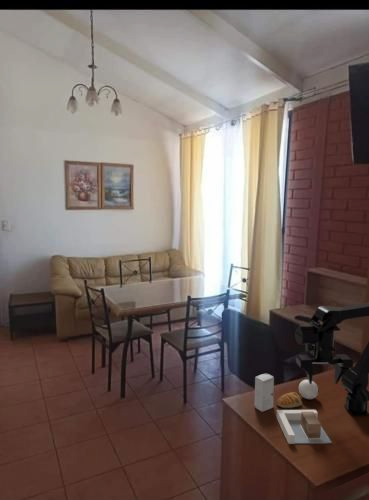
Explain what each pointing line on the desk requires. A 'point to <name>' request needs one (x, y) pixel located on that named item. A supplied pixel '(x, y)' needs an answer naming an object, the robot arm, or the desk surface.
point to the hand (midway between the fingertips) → (322, 383)
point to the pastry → (289, 400)
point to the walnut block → (310, 424)
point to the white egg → (308, 389)
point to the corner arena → (298, 428)
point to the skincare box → (264, 392)
